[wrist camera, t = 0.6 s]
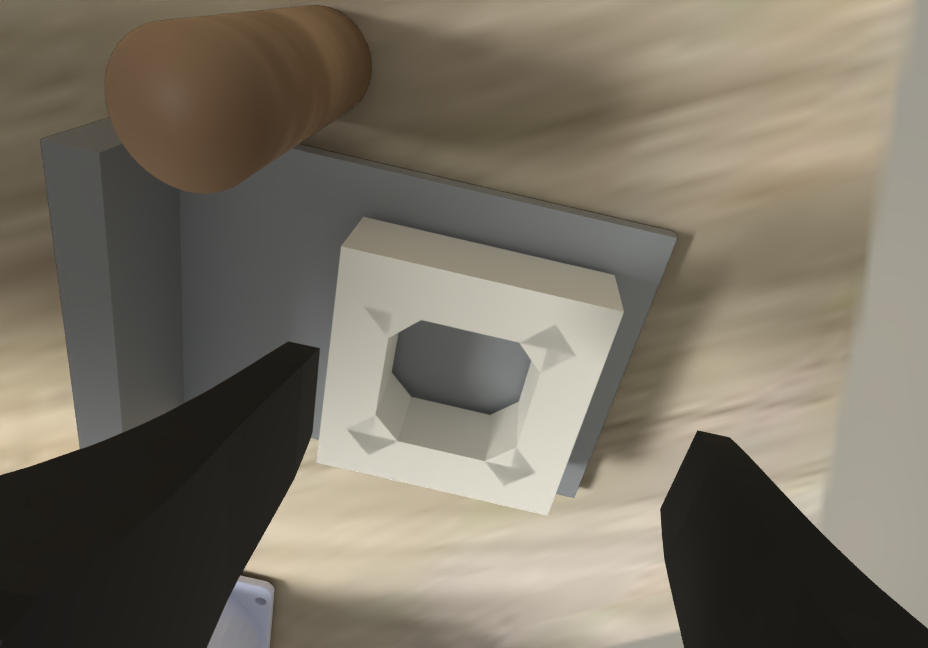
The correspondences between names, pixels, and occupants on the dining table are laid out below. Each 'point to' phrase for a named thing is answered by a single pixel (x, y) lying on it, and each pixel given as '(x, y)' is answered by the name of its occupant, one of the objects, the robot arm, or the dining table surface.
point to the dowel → (232, 90)
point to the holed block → (477, 310)
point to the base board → (293, 278)
